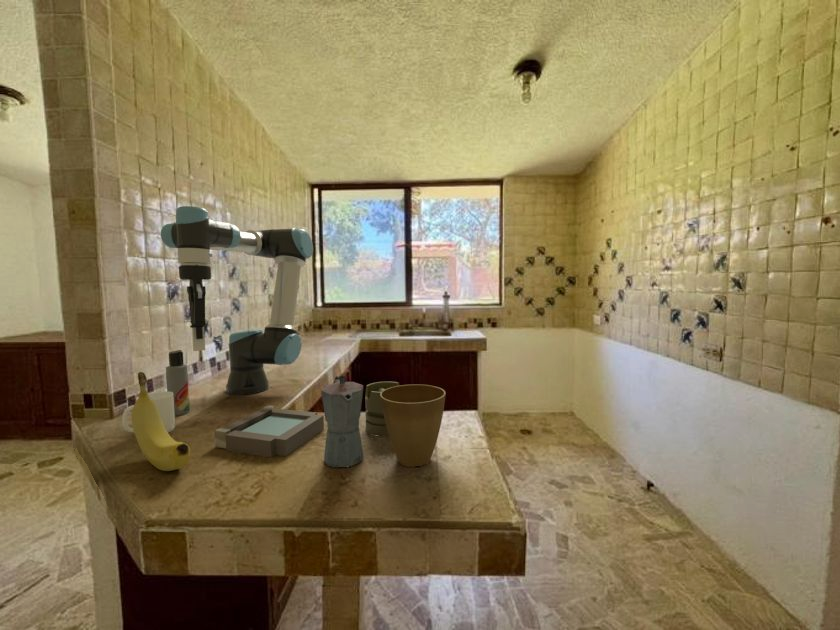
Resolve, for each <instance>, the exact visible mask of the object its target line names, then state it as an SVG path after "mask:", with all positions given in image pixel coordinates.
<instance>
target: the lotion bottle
mask: <svg viewBox="0 0 840 630" xmlns="http://www.w3.org/2000/svg"><path fill="white" fill-rule="evenodd" d="M168 364H169V365H168V366H166V367H165V376H166V379H165V380H166V392H172V393H173V397H174V415H175V417H176V416H182V415H185V414H188V413H189V412H190V393H189V391H190V389H189V370H188V365H187V364H185V362H184V352H183V351H182V350H181V349H177V350H173V351H170V352H168Z"/></svg>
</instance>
